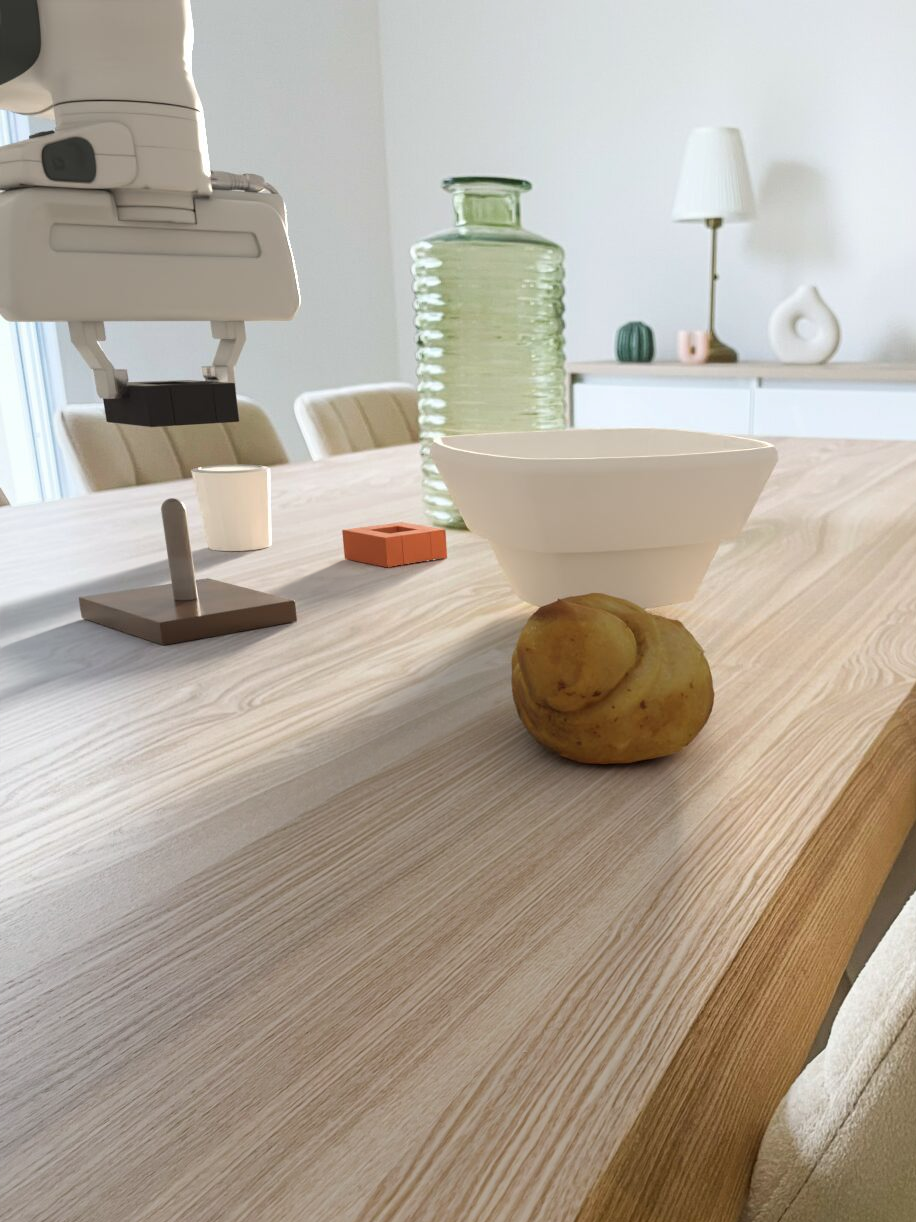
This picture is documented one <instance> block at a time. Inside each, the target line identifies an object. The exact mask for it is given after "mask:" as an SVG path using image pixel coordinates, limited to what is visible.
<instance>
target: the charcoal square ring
mask: <svg viewBox="0 0 916 1222" xmlns="http://www.w3.org/2000/svg"><path fill="white" fill-rule="evenodd" d="M127 385H128V386H129V397H128V398H116V399H103V398H102V401H103V408H104V415H105V420H106V423H112V424H118V425H119V424H120V425H130V426H137V427H138V426H139V427H148V428H158V427H159V428H161V427H177V426H193V425H209V424H211V425H212V424H225V423H227V424H228V423H239V422H240V416H239V408H238V406H239V405H238V398H237V388H236V389H235V383H228V382H212V381H205V380H196V379H195V380H194V379H193V380H191V379H180V380H179V379H178V380H177V379H176V380H152V381H151V380H150V381H148V380H147V381H128V382H127Z"/></svg>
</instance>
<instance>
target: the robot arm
mask: <svg viewBox="0 0 916 1222" xmlns="http://www.w3.org/2000/svg"><path fill="white" fill-rule="evenodd" d="M193 25H194V24H193V16H192V9H191V1H190V0H0V111H7V112H10V113H12V114H18V115H21V116H26V117H32V118H35V119H42V120H47V121H52V122H54V123H55V127H54V130H53V129H51V130H46V131H40V132H35V133H34V134H30V135H29V136H28V138H27V139H23V140H19V141H15V142H11V143H7V144H5V145H2V146H0V316H1V317H2V318H3V319H4V320H5V321H7V322H10V323H65V322H67V325H68V333H69V337H70V342H71V343H72V345H73V347H74V348H75V349H76V351H77V352H78V353H79V354H80V356H81V358H82V359H83V360H84V361H85V363H86V364H87V366H88V367H89V368H90V369H91V370H93V372H92V373H93V378H94V384H95V389H96V394H97V396H98V397H99V398H100V399H102V400H103V399H116V398H128V397H129V386H128V385H127V382H129V375H128V374H129V373H128V369H125V368H115V366H114V364H113V363H112V361H111V360H110V359H109V357H108V356H107V354H106V353H105V351H104V350H103V348H102V346H101V345H100V343H99V342H105V341H106V340H107V336H106V329H105V322H210V329H211V336H212V339H214V340H219V342H218V346H217V348H216V352H215V355H214V358H213V361H212V364H211V365H201V370H202V377H203V379H205V380H204V381H212V382H228V383H235V389H236V390H237V381H236V373H235V367H236V366H237V363H238V361H239V358H240V356H241V353H242V351H243V348H244V346H245V343H246V341H247V335H246V334H247V333H246V326H245V322H290V321H292V320H294V319H295V317H296V315H297V313H298V311H299V309H300V307H301V295H300V288H299V282H298V275H297V270H296V266H295V265H296V264H295V260H294V256H293V252H292V248H291V243H290V240H289V239H290V238H289V236H288V235H289V234H288V220H287V219H288V218H287V213H286V212H287V209H286V205H285V204H286V203H285V201H284V198H283V196H282V195H281V194H280V193H279V191H278V190H277V189H276V188H275V187H274V186H273V185H272V184H270V183H269V182H266V180H265V178H264V176H262V175H259V174H255V173H243V174H241V173H240V174H238V173H234V172H233V173H232V172H228V171H223V170H222V171H220V170H213V169H211V168H210V159H209V158H210V157H209V152H208V144H207V143H208V142H207V135H206V127H205V117H204V109H203V105H202V102H201V99H200V96H199V94H198V91H197V88H196V85H195V81H194V77H193V72H192V51H193V44H194V26H193ZM265 190H267V191H268V192H269V193H268V192H264V191H265Z"/></svg>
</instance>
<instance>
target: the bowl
mask: <svg viewBox="0 0 916 1222" xmlns="http://www.w3.org/2000/svg"><path fill="white" fill-rule="evenodd" d="M429 456H430V458H431V459H432V462H433V464H434V465H435V467H436V470H437V471H438V473H439V476H440V477H441V479H442V481H443V483H444V486H445V487H446V489H447V491H448V493H449V495H450V497H451V499H452V501H453V502H454V505H455V507H456V508H457V511H458V512H459V514H460V516H461V519H462V520H463V521H464V524H465V527H466V528H467V529H468V530H469V531H470V532H471V533H472V534H474V535H476V536H478V537H479V538H481V539H484V540H486V541H487V543H488V544H489V546H490V548H491V550H492V552H493V554H494V556H495V559H496V561H497V562H498V564H499V567H500V569H501V571H502V573H503V574H504V577H505V580H506V581H507V583H508V586H509V587H510V589H511V591H512V592H513V593H514V594H515V595H516V597H517V598H519V599H520V600H521V601H523V602H525V603H527V604H530V605H532V606H535V607H537V608H540V607H542V606H545V605H548V604H550V603H553V602H556V601H557V600H558V598H559V599H563V598H567V597H571V596H573V597H574V596H579V595H586V594H590V593H602V594H606V595H609V596H613V597H616V598H621V599H625V600H627V601H630V602H632V603H634V604H636V605H638V606H639V607H641V608H643V609H644V610H647V609H653V608H660V607H666V606H672V605H678V604H684V603H689V602H691V601H693V600H694V599H695V597H696V595H697V593H698V592H699V589H700V587H701V585H702V583H703V580H704V578H705V577H706V574H707V573H708V570H709V568H710V566H711V564H712V562H713V560H714V558H715V556H716V554H717V552H718V550H719V547H720V545H721V544H722V542H723V541H724V540H730V539H735V538H738V537H740V535H741V533H742V532H743V529H744V527H745V525H746V524H747V522H748V520H749V519H750V516H751V514H752V513H753V510H754V508H755V506H756V504H757V502H758V500H759V499H760V496H761V494H762V492H763V491H764V489H765V487H766V485H767V483H768V481H769V479H770V477H771V475H772V473H773V471H774V469H775V467H776V466H777V464H778V461H779V455H778V450H777V448H776V446H775V445H773V444H772V443H770V442H768V441H763V440H759V439H754V438H748V437H742V436H736V435H730V434H724V433H715V432H714V433H713V432H708V431H699V430H688V429H679V428H663V427H606V428H605V427H604V428H575V429H573V428H572V429H571V428H570V429H545V430H524V431H505V432H503V431H502V432H486V433H484V432H483V433H469V434H455V435H454V434H453V435H444V436H443V435H442V436H435V437H434V439H433V440H432V442H431V444H430V448H429Z"/></svg>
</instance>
